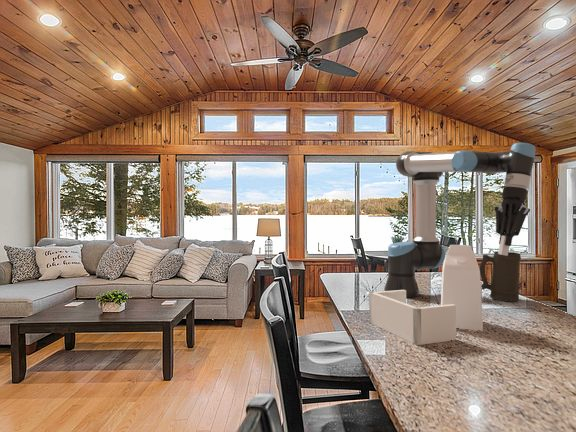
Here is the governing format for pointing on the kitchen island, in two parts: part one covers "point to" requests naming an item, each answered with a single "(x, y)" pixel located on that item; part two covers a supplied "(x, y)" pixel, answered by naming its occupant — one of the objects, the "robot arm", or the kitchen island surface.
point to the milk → (462, 286)
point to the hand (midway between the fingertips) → (502, 254)
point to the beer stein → (502, 276)
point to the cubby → (412, 318)
